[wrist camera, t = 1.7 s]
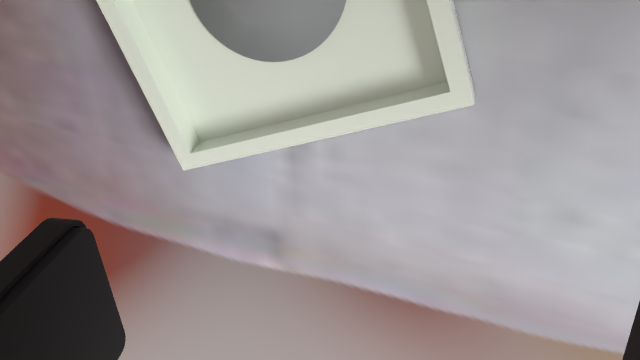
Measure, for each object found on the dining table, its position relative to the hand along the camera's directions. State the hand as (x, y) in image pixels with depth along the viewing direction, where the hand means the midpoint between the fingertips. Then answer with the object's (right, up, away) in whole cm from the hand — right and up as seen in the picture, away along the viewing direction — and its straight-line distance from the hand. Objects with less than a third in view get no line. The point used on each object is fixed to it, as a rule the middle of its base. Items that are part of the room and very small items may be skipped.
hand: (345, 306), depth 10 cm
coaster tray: (-3, +13, +21) cm, 25 cm away
